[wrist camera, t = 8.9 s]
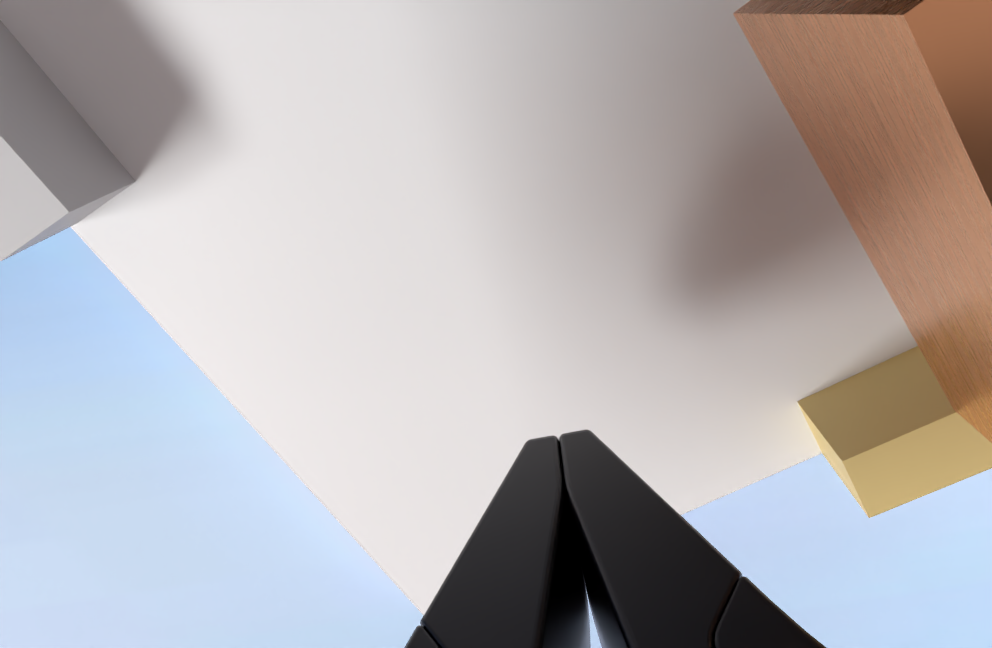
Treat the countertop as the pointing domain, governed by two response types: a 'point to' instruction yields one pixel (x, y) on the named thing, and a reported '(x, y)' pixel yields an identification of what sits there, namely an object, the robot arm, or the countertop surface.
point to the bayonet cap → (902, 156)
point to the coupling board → (473, 246)
